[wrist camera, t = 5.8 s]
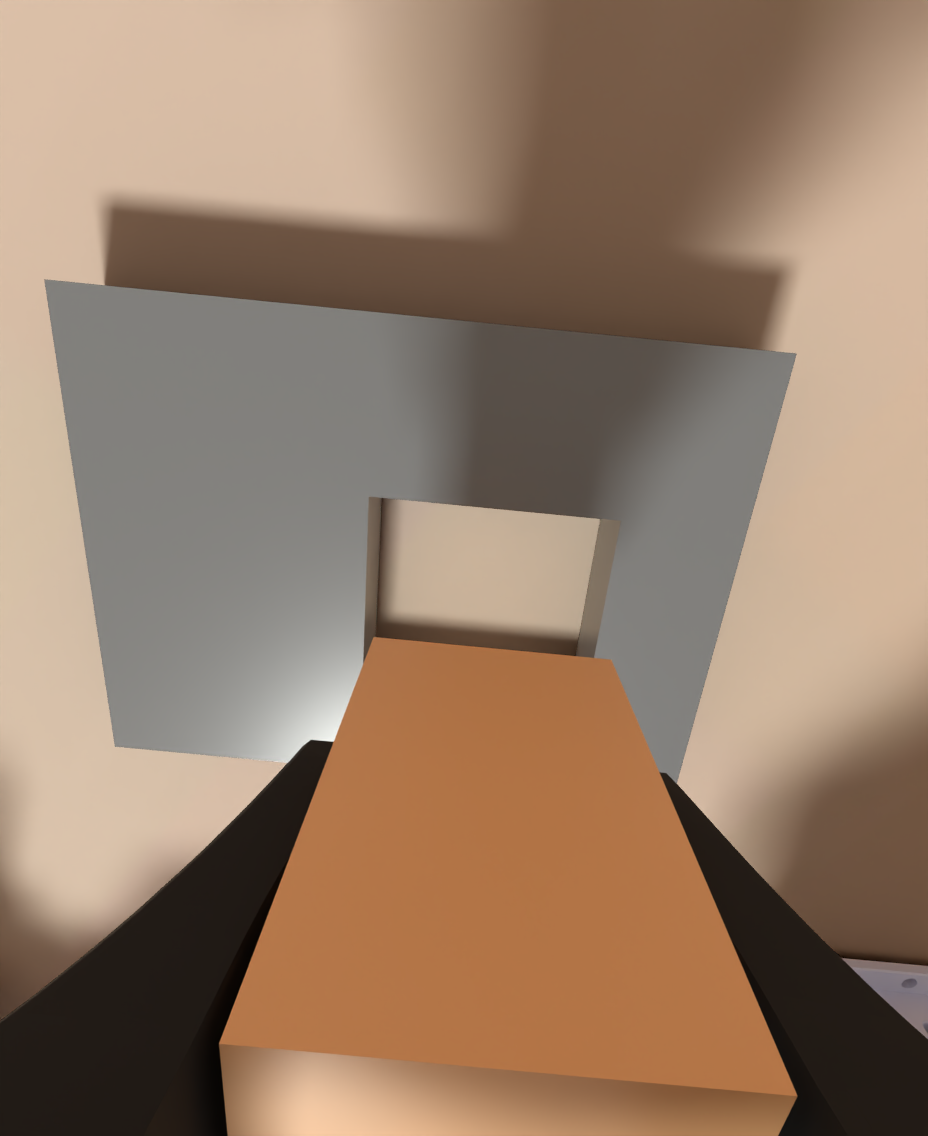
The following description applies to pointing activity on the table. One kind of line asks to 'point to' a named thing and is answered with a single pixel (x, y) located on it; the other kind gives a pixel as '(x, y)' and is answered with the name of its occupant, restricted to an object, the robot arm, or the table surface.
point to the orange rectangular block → (495, 926)
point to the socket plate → (383, 495)
